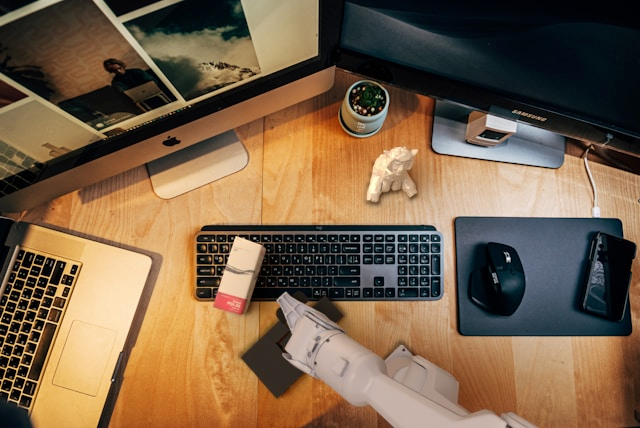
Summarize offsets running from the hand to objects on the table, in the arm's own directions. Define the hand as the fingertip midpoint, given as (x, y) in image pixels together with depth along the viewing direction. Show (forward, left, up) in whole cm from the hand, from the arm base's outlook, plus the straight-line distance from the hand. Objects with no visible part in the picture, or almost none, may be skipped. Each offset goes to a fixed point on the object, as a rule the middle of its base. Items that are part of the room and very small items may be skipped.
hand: (312, 326), depth 76 cm
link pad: (0, 0, -1) cm, 2 cm away
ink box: (+11, +8, +3) cm, 14 cm away
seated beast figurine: (+10, -28, -2) cm, 30 cm away
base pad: (0, +8, -2) cm, 8 cm away
